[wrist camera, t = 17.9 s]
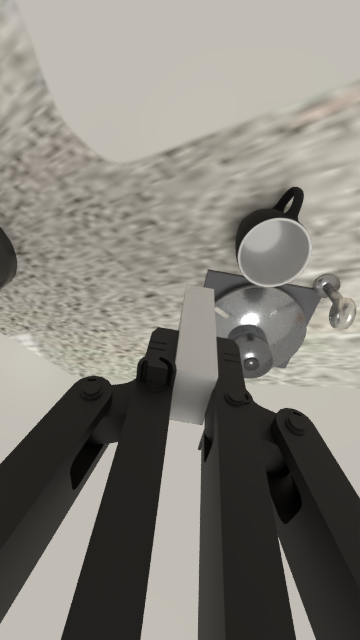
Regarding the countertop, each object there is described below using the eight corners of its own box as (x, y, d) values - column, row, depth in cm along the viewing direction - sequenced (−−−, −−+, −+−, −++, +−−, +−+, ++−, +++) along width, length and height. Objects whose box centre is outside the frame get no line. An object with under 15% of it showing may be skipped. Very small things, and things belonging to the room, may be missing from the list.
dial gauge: (308, 294, 47) (335, 334, 37) (319, 271, 45) (351, 307, 35) (331, 298, 47) (363, 339, 37) (343, 275, 45) (381, 312, 35)
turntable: (252, 379, 56) (256, 400, 52) (182, 335, 51) (180, 354, 47) (326, 323, 48) (339, 342, 43) (250, 263, 43) (255, 278, 38)
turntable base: (189, 350, 56) (189, 356, 54) (208, 269, 46) (208, 274, 44) (284, 366, 56) (286, 373, 55) (322, 290, 47) (327, 296, 45)
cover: (246, 360, 52) (251, 387, 46) (218, 342, 50) (220, 367, 44) (274, 338, 48) (283, 363, 43) (245, 317, 46) (251, 340, 41)
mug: (270, 268, 45) (285, 297, 37) (221, 247, 44) (225, 272, 36) (315, 195, 39) (346, 210, 30) (259, 169, 38) (275, 176, 29)
